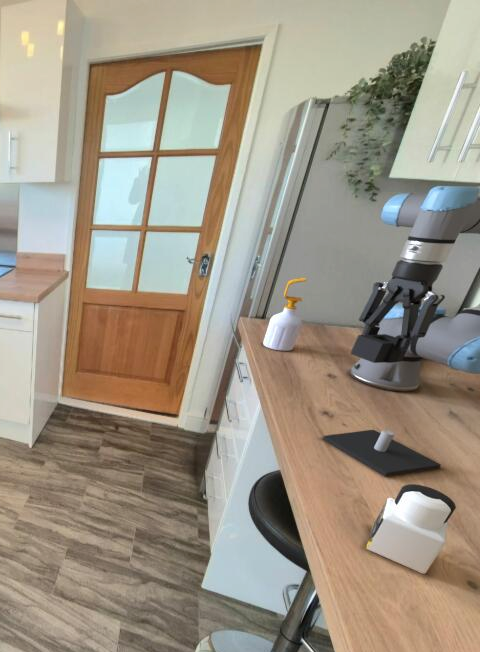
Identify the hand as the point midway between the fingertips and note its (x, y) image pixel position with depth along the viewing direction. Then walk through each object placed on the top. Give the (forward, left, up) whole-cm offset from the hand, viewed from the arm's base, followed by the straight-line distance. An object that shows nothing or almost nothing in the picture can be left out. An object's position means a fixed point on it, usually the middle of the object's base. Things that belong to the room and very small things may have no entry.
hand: (376, 356), depth 106 cm
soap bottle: (-18, -43, -16) cm, 49 cm away
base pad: (+13, +17, -15) cm, 26 cm away
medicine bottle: (+38, +40, -16) cm, 57 cm away
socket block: (0, 0, 0) cm, 0 cm away
